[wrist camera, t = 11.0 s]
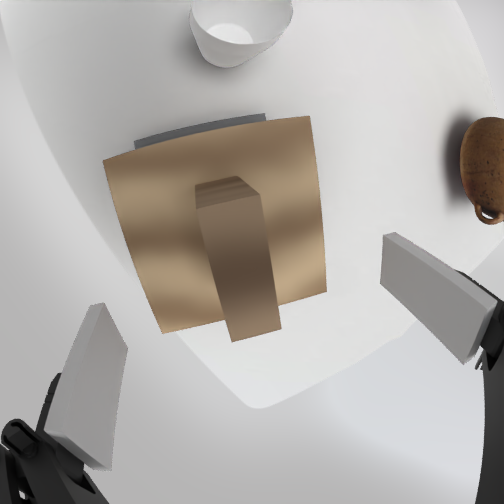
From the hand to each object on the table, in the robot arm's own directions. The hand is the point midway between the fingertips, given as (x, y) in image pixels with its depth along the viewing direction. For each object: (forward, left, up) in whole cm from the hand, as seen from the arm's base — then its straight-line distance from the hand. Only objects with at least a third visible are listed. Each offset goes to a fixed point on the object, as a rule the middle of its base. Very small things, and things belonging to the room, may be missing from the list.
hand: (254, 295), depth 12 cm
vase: (+1, +48, -25) cm, 54 cm away
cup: (-19, +5, -25) cm, 31 cm away
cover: (0, 0, -24) cm, 24 cm away
